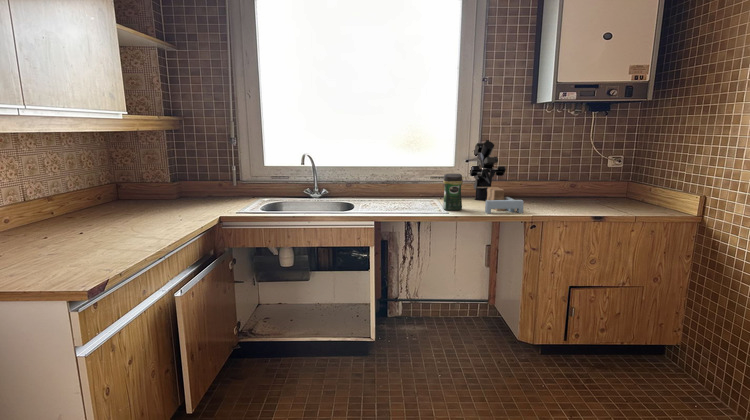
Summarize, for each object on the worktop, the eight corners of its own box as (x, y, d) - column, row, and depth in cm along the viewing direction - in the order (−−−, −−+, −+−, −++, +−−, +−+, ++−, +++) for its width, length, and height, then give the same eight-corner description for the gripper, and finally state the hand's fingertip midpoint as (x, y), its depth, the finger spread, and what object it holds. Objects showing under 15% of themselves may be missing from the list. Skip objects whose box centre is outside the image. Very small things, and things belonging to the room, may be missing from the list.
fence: (479, 208, 227) (480, 197, 226) (514, 208, 228) (514, 196, 227) (486, 213, 215) (487, 201, 214) (522, 212, 216) (523, 200, 215)
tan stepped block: (486, 205, 237) (487, 186, 235) (495, 205, 237) (496, 186, 235) (496, 211, 221) (497, 191, 219) (505, 210, 221) (507, 191, 219)
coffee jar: (459, 208, 229) (461, 172, 226) (463, 211, 222) (464, 174, 218) (441, 208, 229) (442, 172, 226) (444, 211, 221) (445, 174, 218)
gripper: (472, 151, 239) (476, 174, 231) (505, 151, 240) (511, 173, 231) (467, 164, 249) (472, 186, 240) (500, 164, 249) (505, 186, 241)
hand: (490, 183), depth 238 cm, fingers closed
